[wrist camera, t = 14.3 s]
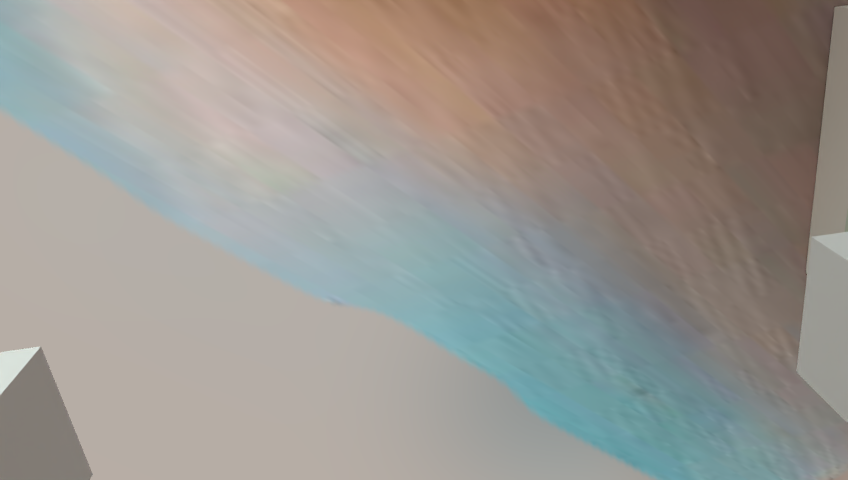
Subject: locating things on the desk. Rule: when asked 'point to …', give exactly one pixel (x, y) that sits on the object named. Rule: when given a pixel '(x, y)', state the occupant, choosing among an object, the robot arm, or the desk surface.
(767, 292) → the desk surface
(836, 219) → the block
